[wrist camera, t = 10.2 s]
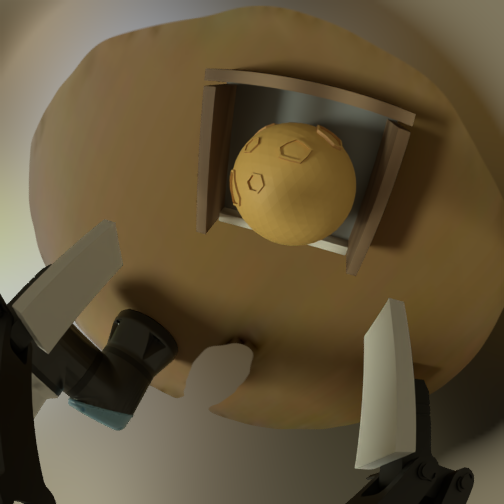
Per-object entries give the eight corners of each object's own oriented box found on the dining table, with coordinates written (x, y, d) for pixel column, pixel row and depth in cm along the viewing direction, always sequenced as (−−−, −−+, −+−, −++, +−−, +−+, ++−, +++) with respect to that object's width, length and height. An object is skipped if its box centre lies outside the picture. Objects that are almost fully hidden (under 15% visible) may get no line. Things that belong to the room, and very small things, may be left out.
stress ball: (352, 194, 26) (393, 140, 17) (306, 277, 25) (337, 255, 15) (269, 146, 28) (273, 78, 18) (214, 220, 26) (192, 169, 16)
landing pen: (217, 210, 32) (196, 235, 27) (230, 69, 22) (205, 68, 18) (353, 247, 29) (354, 280, 25) (399, 107, 20) (415, 114, 15)
